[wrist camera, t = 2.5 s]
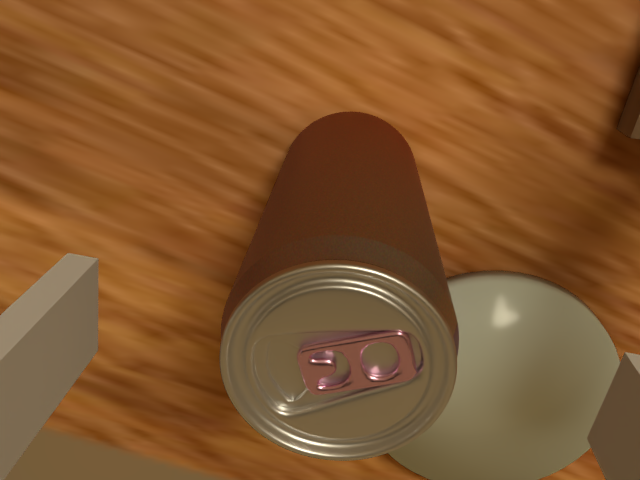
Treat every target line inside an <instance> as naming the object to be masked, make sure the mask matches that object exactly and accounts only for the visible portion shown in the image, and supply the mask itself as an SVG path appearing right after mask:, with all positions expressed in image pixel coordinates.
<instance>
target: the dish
mask: <svg viewBox="0 0 640 480" xmlns="http://www.w3.org/2000/svg"><path fill="white" fill-rule="evenodd" d="M446 280H447V283H448V287H449V291H450V295H451V298H452V302H453V306H454V310H455V313H456V317H457V322H458V328H459V349H458V355H457V375H456V381H455V385H454V389H453V392H452V395H451V397H450V400H449V402H448V404H447V405H446V407H445V409H444V411H443V412H442V413H441V415H440V416H439V418H438V419H437V420H436V421H435V422H434V424H433V425H432V426H431V427H430V428H429V429H428V430H426V431H425V432H424V433H423V434H422V435H420V436H419V437H418V438H416V439H415V440H413V441H412V442H410V443H408V444H407V445H405V446H403V447H401V448H399V449H397V450H394V451H392V452H389V453H388V454H389V455H390V456H391V457H393V458H394V459H395V460H396V461H398V462H399V463H400V464H401V465H403V466H404V467H406V468H408V469H409V470H411V471H413V472H414V473H416V474H419V475H421V476H423V477H425V478H427V479H430V480H538V479H541V478H543V477H546V476H549V475H551V474H553V473H555V472H557V471H559V470H561V469H563V468H564V467H566V466H567V465H569V464H570V463H572V462H574V461H575V460H577V459H578V458H579V457H580V456H581V455H583V454H584V453H585V452H586V451H588V450H589V449H590V448H591V446H590V444H589V442H588V440H587V437H588V434H589V432H590V430H591V428H592V425H593V423H594V421H595V419H596V416H597V414H598V412H599V410H600V407H601V405H602V403H603V401H604V398H605V396H606V394H607V392H608V389H609V387H610V385H611V383H612V380H613V378H614V376H615V374H616V371H617V369H618V367H619V365H620V360H619V357H618V354H617V351H616V348H615V346H614V344H613V342H612V340H611V338H610V336H609V334H608V333H607V331H606V330H605V328H604V327H603V325H602V324H601V322H600V321H599V320H598V318H597V317H596V316H595V314H594V313H593V312H592V310H591V309H590V308H589V307H588V306H587V305H586V304H585V303H584V302H583V301H582V300H580V299H579V298H578V297H576V296H575V295H574V294H572V293H571V292H569V291H568V290H566V289H565V288H563V287H561V286H559V285H557V284H555V283H553V282H551V281H548V280H545V279H542V278H540V277H537V276H533V275H529V274H524V273H520V272H511V271H478V272H470V273H464V274H460V275H456V276H452V277H448V278H446Z"/></svg>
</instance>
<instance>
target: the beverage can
mask: <svg viewBox="0 0 640 480" xmlns="http://www.w3.org/2000/svg"><path fill="white" fill-rule="evenodd" d="M458 349H459V328H458V322H457V317H456V313H455V310H454V306H453V302H452V298H451V295H450V291H449V287H448V283H447V280H446V276H445V272H444V268H443V264H442V261H441V257H440V253H439V249H438V246H437V242H436V238H435V234H434V231H433V227H432V223H431V219H430V216H429V212H428V208H427V204H426V200H425V197H424V193H423V189H422V185H421V182H420V178H419V174H418V170H417V167H416V163H415V159H414V156H413V153H412V151H411V149H410V147H409V145H408V143H407V142H406V140H405V139H404V137H403V136H402V135H401V134H400V133H399V132H398V131H397V130H396V129H395V128H394V127H393V126H391V125H390V124H389V123H387V122H386V121H384V120H382V119H380V118H378V117H375V116H373V115H370V114H366V113H361V112H339V113H334V114H331V115H327V116H325V117H322V118H320V119H318V120H316V121H314V122H313V123H311V124H310V125H309V126H307V127H306V128H305V129H304V130H303V131H302V132H301V133H300V134H299V135H298V136H297V138H296V139H295V140H294V142H293V143H292V145H291V147H290V149H289V151H288V154H287V156H286V158H285V161H284V163H283V166H282V168H281V171H280V173H279V175H278V178H277V180H276V183H275V185H274V188H273V190H272V192H271V195H270V197H269V200H268V202H267V205H266V207H265V210H264V212H263V214H262V217H261V219H260V222H259V224H258V227H257V229H256V231H255V234H254V236H253V239H252V241H251V244H250V246H249V249H248V251H247V253H246V256H245V258H244V261H243V263H242V266H241V268H240V270H239V273H238V275H237V278H236V280H235V283H234V285H233V288H232V290H231V292H230V295H229V297H228V300H227V302H226V305H225V308H224V312H223V316H222V323H221V345H220V370H221V376H222V380H223V383H224V386H225V389H226V391H227V394H228V396H229V398H230V400H231V402H232V403H233V405H234V406H235V408H236V410H237V411H238V412H239V414H240V415H241V416H242V417H243V418H244V419H245V421H246V422H247V423H248V424H249V425H250V426H251V427H252V428H254V429H255V430H256V431H257V432H258V433H260V434H261V435H262V436H264V437H265V438H267V439H268V440H270V441H272V442H273V443H275V444H277V445H279V446H281V447H283V448H285V449H287V450H290V451H292V452H295V453H298V454H301V455H305V456H309V457H313V458H318V459H325V460H339V461H347V460H360V459H366V458H372V457H376V456H380V455H383V454H386V453H389V452H392V451H394V450H397V449H399V448H401V447H403V446H405V445H407V444H408V443H410V442H412V441H413V440H415V439H416V438H418V437H419V436H420V435H422V434H423V433H424V432H425V431H426V430H428V429H429V428H430V427H431V426H432V425H433V424H434V422H435V421H436V420H437V419H438V418H439V416H440V415H441V413H442V412H443V411H444V409H445V407H446V405H447V404H448V402H449V400H450V397H451V395H452V392H453V389H454V385H455V381H456V375H457V355H458Z"/></svg>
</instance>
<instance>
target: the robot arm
mask: <svg viewBox="0 0 640 480" xmlns="http://www.w3.org/2000/svg"><path fill="white" fill-rule="evenodd" d="M97 351H98V258H93V257H87V256H82V255H76V254H70V253H67V254H66V255H65V256H64V257H63V258H62V259H61V260H60V261H59V262H58V263H56V264H55V265H54V266H53V267H52V268H51V269H50V270H49V271H48V272H47V273H46V274H45V275H43V276H42V277H41V278H40V279H39V280H38V281H37V282H36V283H35V284H34V285H33V286H31V287H30V288H29V289H28V290H27V291H26V292H25V293H24V294H23V295H22V296H21V297H20V298H18V299H17V300H16V301H15V302H14V303H13V304H12V305H11V306H10V307H9V308H8V309H6V310H5V311H4V312H3V313H2V314H1V315H0V480H4V479H5V478H6V476H7V475H8V473H9V472H10V471H11V469H12V468H13V466H14V465H15V464H16V462H17V461H18V460H19V458H20V457H21V456H22V454H23V453H24V451H25V450H26V449H27V447H28V446H29V444H30V443H31V442H32V440H33V439H34V438H35V436H36V435H37V434H38V432H39V431H40V429H41V428H42V427H43V425H44V424H45V423H46V421H47V420H48V418H49V417H50V416H51V414H52V413H53V412H54V410H55V409H56V407H57V406H58V405H59V403H60V402H61V401H62V399H63V398H64V396H65V395H66V394H67V392H68V391H69V389H70V388H71V387H72V385H73V384H74V383H75V381H76V380H77V378H78V377H79V376H80V374H81V373H82V372H83V370H84V369H85V367H86V366H87V365H88V363H89V362H90V361H91V359H92V358H93V356H94V355H95V354H96V352H97ZM587 440H588V442H589V444H590V446H591V448H592V450H593V453H594V455H595V457H596V459H597V461H598V464H599V466H600V468H601V470H602V472H603V474H604V477H605V479H606V480H640V355H637V354H632V353H626V352H625V353H624V356H623V358H622V360H621V362H620V365H619V367H618V369H617V371H616V374H615V376H614V378H613V380H612V383H611V385H610V387H609V389H608V392H607V394H606V396H605V398H604V401H603V403H602V405H601V407H600V410H599V412H598V414H597V416H596V419H595V421H594V423H593V425H592V428H591V430H590V432H589V434H588V437H587Z"/></svg>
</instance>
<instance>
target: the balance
mask: <svg viewBox="0 0 640 480" xmlns="http://www.w3.org/2000/svg"><path fill="white" fill-rule="evenodd" d="M617 130H619V131H620V132H622V133H624V134H625V135H627V136H628V137H630V138H634V139H640V67H639V70H638V72H637V75H636V78H635V80H634V83H633V86H632V89H631V91H630V94H629V97H628V99H627V102H626V105H625V107H624V110H623V113H622V116H621V118H620V121H619V124H618V126H617Z"/></svg>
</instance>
